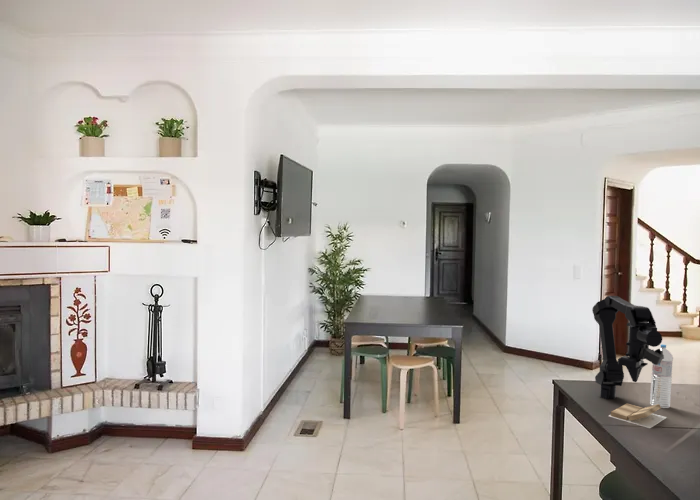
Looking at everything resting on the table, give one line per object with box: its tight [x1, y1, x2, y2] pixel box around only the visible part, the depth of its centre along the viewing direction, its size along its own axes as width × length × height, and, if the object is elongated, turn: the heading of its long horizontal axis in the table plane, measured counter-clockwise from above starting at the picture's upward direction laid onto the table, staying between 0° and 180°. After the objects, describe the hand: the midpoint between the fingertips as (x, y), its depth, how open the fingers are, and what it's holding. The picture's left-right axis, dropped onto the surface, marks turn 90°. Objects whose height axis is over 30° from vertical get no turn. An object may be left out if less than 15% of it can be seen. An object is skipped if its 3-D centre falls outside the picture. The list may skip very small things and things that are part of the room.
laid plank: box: [610, 403, 643, 421], centre depth 188 cm, size 15×6×2 cm, turn 131°
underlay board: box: [608, 413, 668, 429], centre depth 185 cm, size 17×14×1 cm
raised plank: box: [628, 404, 662, 421], centre depth 184 cm, size 15×6×2 cm, turn 131°
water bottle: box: [649, 343, 674, 409], centre depth 199 cm, size 7×7×25 cm
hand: (634, 381), depth 188 cm, fingers closed
